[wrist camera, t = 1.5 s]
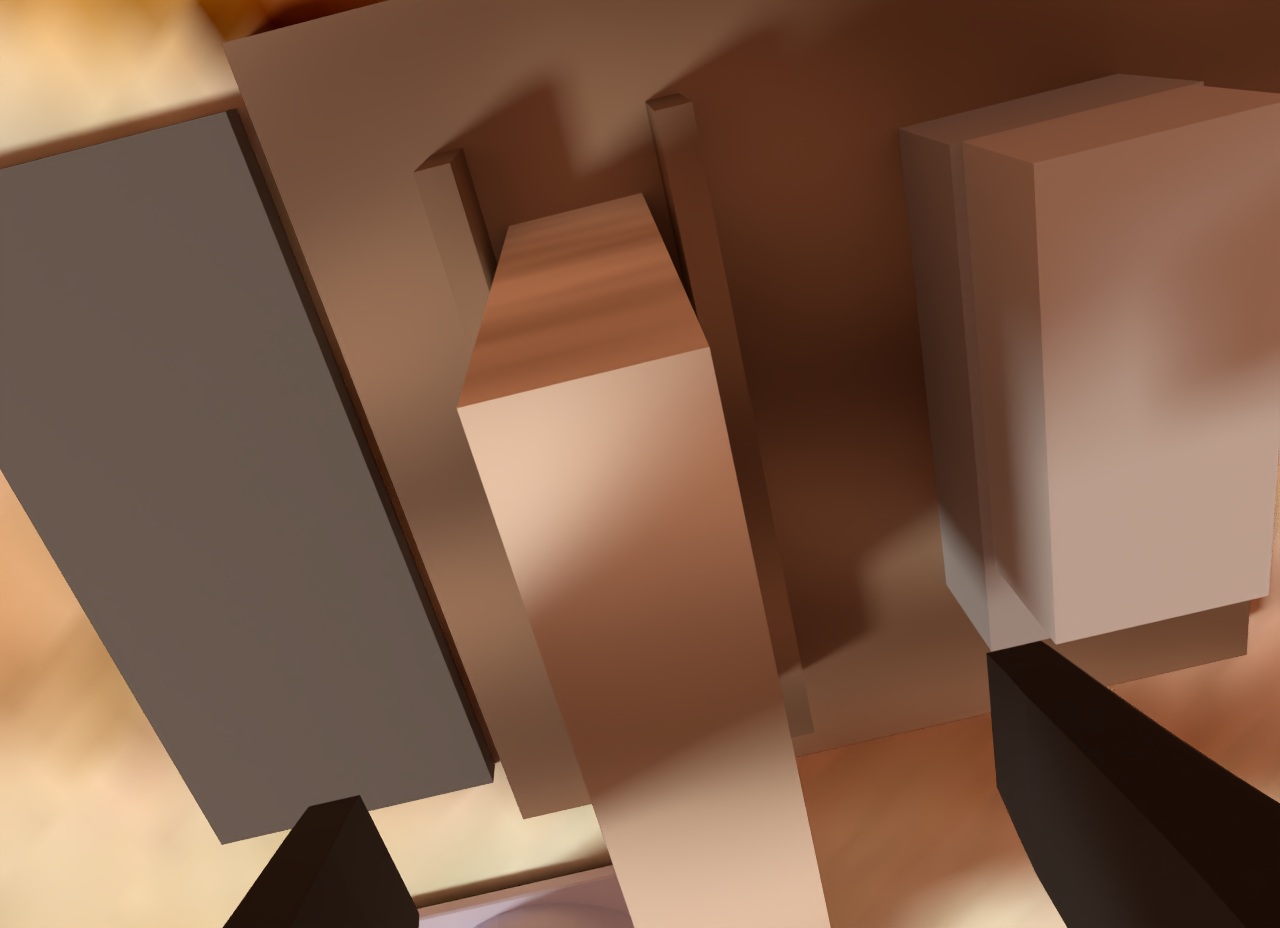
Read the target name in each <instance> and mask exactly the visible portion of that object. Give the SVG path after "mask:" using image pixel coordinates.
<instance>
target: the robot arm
mask: <svg viewBox="0 0 1280 928" xmlns="http://www.w3.org/2000/svg"><path fill="white" fill-rule="evenodd" d="M986 656H987V669H988V681H989V693H990V706H991V718H992V731H993V743H994V756H995V768H996V781H997V788H998V790H999V792H1000V795H1001V797H1002V799H1003V801H1004V804H1005V806H1006V808H1007V811H1008V813H1009V815H1010V817H1011V820H1012V822H1013V824H1014V826H1015V829H1016V831H1017V833H1018V836H1019V838H1020V840H1021V842H1022V844H1023V846H1024V849H1025V851H1026V853H1027V855H1028V857H1029V859H1030V862H1031V864H1032V866H1033V868H1034V870H1035V872H1036V874H1037V876H1038V878H1039V880H1040V881H1041V883H1042V885H1043V887H1044V888H1045V890H1046V892H1047V894H1048V895H1049V897H1050V899H1051V900H1052V902H1053V904H1054V906H1055V907H1056V909H1057V911H1058V912H1059V914H1060V916H1061V917H1062V919H1063V921H1064V923H1065V924H1066V926H1067V928H1280V803H1278V802H1277V801H1275V800H1273V799H1272V798H1270V797H1269V796H1267V795H1265V794H1264V793H1262V792H1261V791H1259V790H1257V789H1256V788H1254V787H1253V786H1251V785H1250V784H1248V783H1246V782H1245V781H1243V780H1242V779H1240V778H1238V777H1237V776H1235V775H1234V774H1232V773H1231V772H1229V771H1228V770H1226V769H1225V768H1223V767H1222V766H1220V765H1219V764H1217V763H1216V762H1214V761H1213V760H1211V759H1210V758H1208V757H1207V756H1205V755H1204V754H1202V753H1201V752H1199V751H1198V750H1196V749H1195V748H1193V747H1192V746H1190V745H1189V744H1187V743H1185V742H1184V741H1182V740H1181V739H1179V738H1178V737H1176V736H1175V735H1174V734H1172V733H1171V732H1169V731H1168V730H1166V729H1165V728H1163V727H1162V726H1160V725H1159V724H1158V723H1156V722H1155V721H1153V720H1152V719H1150V718H1149V717H1147V716H1146V715H1145V714H1143V713H1142V712H1140V711H1139V710H1138V709H1136V708H1135V707H1133V706H1132V705H1131V704H1129V703H1128V702H1126V701H1125V700H1124V699H1122V698H1121V697H1119V696H1118V695H1116V694H1115V693H1114V692H1112V691H1111V690H1110V689H1108V688H1107V687H1105V686H1104V685H1103V684H1101V683H1100V682H1098V681H1097V680H1096V679H1094V678H1093V677H1092V676H1090V675H1089V674H1088V673H1086V672H1085V671H1083V670H1082V669H1081V668H1079V667H1078V666H1077V665H1075V664H1074V663H1072V662H1071V661H1070V660H1068V659H1067V658H1066V657H1064V656H1063V655H1061V654H1060V653H1059V652H1057V651H1056V650H1055V649H1053V648H1052V647H1050V646H1049V645H1047V644H1046V643H1044V642H1042V641H1037V642H1033V643H1028V644H1024V645H1020V646H1015V647H1011V648H1006V649H1002V650H997V651H993V652H989V653H986ZM223 928H634V925H633V922H632V919H631V916H630V913H629V910H628V907H627V904H626V902H625V899H624V896H623V893H622V890H621V887H620V884H619V881H618V878H617V875H616V872H615V869H614V866H613V865H610V866H606V867H601V868H597V869H593V870H588V871H584V872H579V873H575V874H570V875H566V876H561V877H557V878H553V879H548V880H544V881H539V882H535V883H530V884H526V885H522V886H517V887H513V888H508V889H504V890H499V891H495V892H490V893H486V894H482V895H477V896H473V897H468V898H464V899H459V900H455V901H451V902H446V903H442V904H437V905H433V906H428V907H424V908H419V909H417V908H416V906H415V904H414V902H413V900H412V898H411V896H410V894H409V892H408V890H407V888H406V886H405V884H404V882H403V880H402V878H401V876H400V874H399V872H398V870H397V868H396V866H395V864H394V862H393V860H392V858H391V856H390V854H389V852H388V850H387V848H386V846H385V844H384V842H383V840H382V838H381V836H380V834H379V832H378V830H377V828H376V826H375V824H374V822H373V820H372V818H371V816H370V814H369V812H368V810H367V808H366V806H365V804H364V802H363V800H362V798H361V796H360V795H357V796H353V797H348V798H344V799H339V800H335V801H330V802H326V803H322V804H317V805H313V806H309V807H308V808H307V809H306V811H305V812H304V813H303V815H302V816H301V818H300V819H299V820H298V822H297V823H296V824H295V826H294V827H293V828H292V830H291V831H290V833H289V834H288V835H287V837H286V838H285V840H284V841H283V843H282V844H281V845H280V847H279V848H278V850H277V851H276V853H275V854H274V855H273V857H272V858H271V860H270V861H269V863H268V864H267V865H266V867H265V868H264V870H263V871H262V873H261V874H260V875H259V877H258V878H257V880H256V881H255V883H254V884H253V886H252V887H251V888H250V890H249V891H248V893H247V894H246V896H245V897H244V898H243V900H242V901H241V903H240V904H239V906H238V907H237V908H236V910H235V911H234V913H233V914H232V915H231V917H230V918H229V920H228V921H227V922H226V924H225V925H224V926H223Z"/></svg>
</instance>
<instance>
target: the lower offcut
mask: <svg viewBox="0 0 1280 928" xmlns="http://www.w3.org/2000/svg"><path fill="white" fill-rule="evenodd" d="M1188 85H1198V86H1204V82H1203V81H1192V80H1182V79H1171V78H1160V77H1149V76H1139V75H1128V74H1115V75H1111V76H1107V77H1103V78H1099V79H1095V80H1091V81H1087V82H1083V83H1079V84H1075V85H1071V86H1067V87H1063V88H1059V89H1055V90H1051V91H1047V92H1043V93H1039V94H1035V95H1031V96H1027V97H1023V98H1019V99H1015V100H1011V101H1007V102H1003V103H999V104H995V105H991V106H987V107H983V108H979V109H975V110H971V111H967V112H963V113H959V114H955V115H951V116H947V117H943V118H939V119H935V120H931V121H927V122H923V123H919V124H915V125H911V126H907V127H903V128H899V138H900V148H901V157H902V167H903V176H904V186H905V195H906V205H907V214H908V224H909V233H910V243H911V252H912V262H913V271H914V281H915V290H916V300H917V309H918V319H919V328H920V338H921V347H922V357H923V366H924V376H925V385H926V395H927V404H928V414H929V423H930V433H931V442H932V452H933V461H934V471H935V480H936V490H937V499H938V509H939V518H940V528H941V537H942V547H943V556H944V566H945V575H946V585H947V586H948V588H949V589H950V591H951V592H952V594H953V595H954V597H955V598H956V600H957V601H958V603H959V604H960V606H961V607H962V609H963V610H964V612H965V613H966V614H967V616H968V617H969V619H970V620H971V622H972V623H973V625H974V626H975V628H976V629H977V631H978V632H979V634H980V635H981V637H982V638H983V640H984V641H985V643H986V644H987V646H988V647H989V649H990V650H991V652H992V651H997V650H1001V649H1005V648H1010V647H1014V646H1018V645H1023V644H1027V643H1031V642H1036V641H1040V640H1045V639H1049V638H1050V636H1049V635H1048V634H1047V633H1046V631H1045V630H1044V629H1043V628H1042V626H1041V625H1040V624H1039V622H1038V621H1037V620H1036V619H1035V617H1034V616H1033V615H1032V614H1031V612H1030V611H1029V610H1028V608H1027V607H1026V606H1025V605H1024V603H1023V602H1022V601H1021V600H1020V598H1019V597H1018V596H1017V594H1016V593H1015V592H1014V591H1013V589H1012V588H1011V587H1010V586H1009V584H1008V583H1007V582H1006V580H1005V579H1004V578H1003V577H1002V575H1001V574H1000V573H999V572H998V570H997V569H996V568H995V561H994V548H993V535H992V522H991V510H990V497H989V484H988V471H987V458H986V445H985V432H984V419H983V407H982V394H981V381H980V368H979V355H978V342H977V329H976V317H975V304H974V291H973V278H972V265H971V252H970V239H969V226H968V214H967V201H966V188H965V175H964V162H963V149H962V142H963V141H967V140H971V139H975V138H979V137H983V136H987V135H991V134H995V133H999V132H1003V131H1007V130H1011V129H1015V128H1019V127H1023V126H1027V125H1031V124H1035V123H1039V122H1043V121H1047V120H1051V119H1055V118H1059V117H1063V116H1067V115H1071V114H1075V113H1079V112H1084V111H1088V110H1092V109H1096V108H1100V107H1104V106H1108V105H1112V104H1116V103H1120V102H1124V101H1128V100H1132V99H1136V98H1140V97H1144V96H1148V95H1152V94H1156V93H1160V92H1164V91H1168V90H1172V89H1176V88H1180V87H1184V86H1188Z"/></svg>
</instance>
